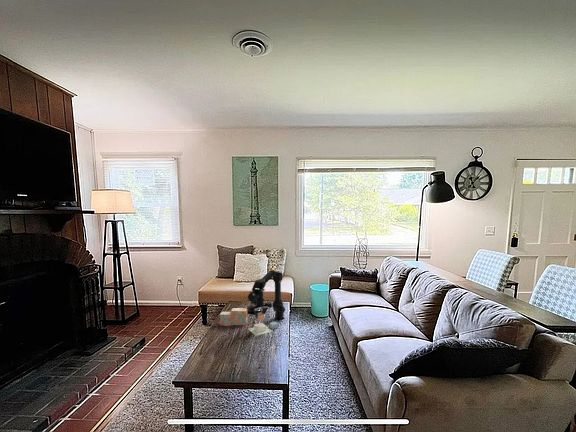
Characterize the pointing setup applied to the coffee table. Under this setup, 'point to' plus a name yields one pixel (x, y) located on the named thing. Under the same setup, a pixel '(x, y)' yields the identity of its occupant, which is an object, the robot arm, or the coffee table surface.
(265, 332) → the baseplate
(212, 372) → the coffee table surface
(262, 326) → the brick cream
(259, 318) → the brick terracotta
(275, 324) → the brick blue
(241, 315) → the stack of blocks
